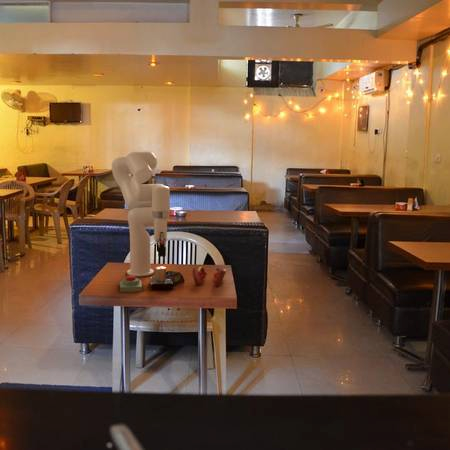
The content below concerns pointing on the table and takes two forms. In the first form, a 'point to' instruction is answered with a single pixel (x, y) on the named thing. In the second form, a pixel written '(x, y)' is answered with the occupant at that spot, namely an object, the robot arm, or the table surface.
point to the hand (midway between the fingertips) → (161, 253)
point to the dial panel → (160, 284)
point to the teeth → (201, 274)
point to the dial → (160, 273)
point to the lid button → (130, 278)
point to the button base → (130, 285)
